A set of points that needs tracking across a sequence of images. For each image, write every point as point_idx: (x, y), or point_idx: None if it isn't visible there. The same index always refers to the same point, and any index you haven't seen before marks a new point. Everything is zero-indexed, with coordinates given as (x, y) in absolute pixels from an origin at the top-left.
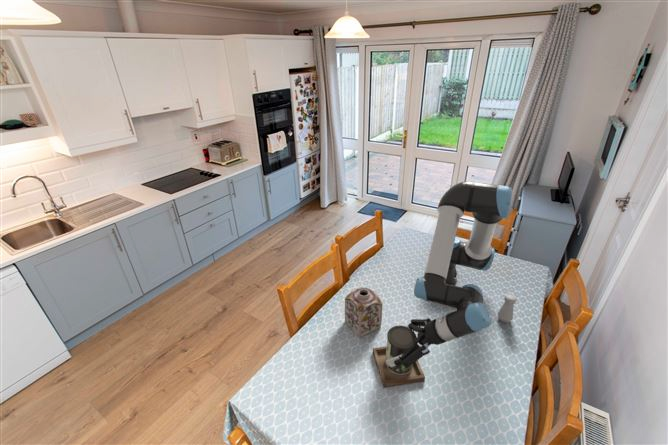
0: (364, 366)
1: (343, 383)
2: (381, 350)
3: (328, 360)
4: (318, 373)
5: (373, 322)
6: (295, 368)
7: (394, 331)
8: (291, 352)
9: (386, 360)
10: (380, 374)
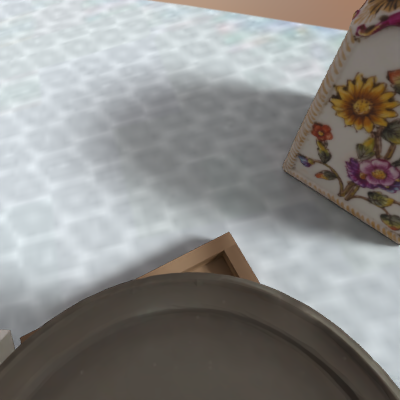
0: (141, 224)
1: (49, 169)
2: None
3: (137, 101)
4: (79, 90)
5: (388, 186)
6: (87, 36)
7: (263, 381)
8: (140, 13)
9: (2, 333)
10: None
